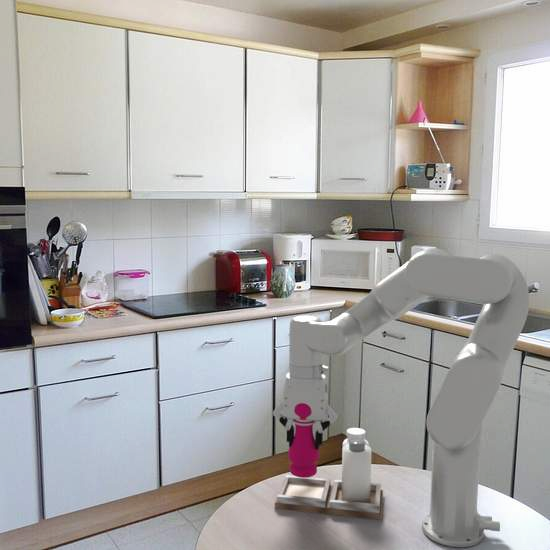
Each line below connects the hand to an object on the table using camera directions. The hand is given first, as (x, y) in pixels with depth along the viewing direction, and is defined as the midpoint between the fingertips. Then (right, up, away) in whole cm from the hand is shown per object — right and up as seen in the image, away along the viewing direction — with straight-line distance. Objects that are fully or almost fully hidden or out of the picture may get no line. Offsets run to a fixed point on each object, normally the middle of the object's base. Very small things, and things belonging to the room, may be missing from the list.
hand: (304, 445), depth 146 cm
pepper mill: (0, -7, +1) cm, 7 cm away
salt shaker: (+12, -12, -1) cm, 17 cm away
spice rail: (+6, -13, +1) cm, 15 cm away
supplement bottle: (+13, -12, +12) cm, 22 cm away
